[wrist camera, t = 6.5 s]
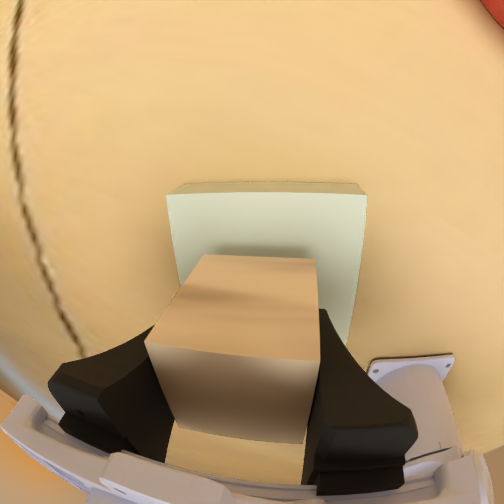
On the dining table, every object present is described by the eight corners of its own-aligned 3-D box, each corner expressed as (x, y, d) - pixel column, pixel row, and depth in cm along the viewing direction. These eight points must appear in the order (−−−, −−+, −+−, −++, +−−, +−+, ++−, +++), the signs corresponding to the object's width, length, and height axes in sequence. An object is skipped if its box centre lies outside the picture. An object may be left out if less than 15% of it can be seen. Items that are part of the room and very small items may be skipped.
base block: (340, 323, 19) (344, 352, 17) (204, 316, 21) (192, 342, 18) (356, 182, 15) (367, 195, 13) (186, 182, 17) (165, 194, 14)
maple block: (307, 344, 14) (302, 444, 9) (214, 337, 15) (178, 427, 10) (315, 258, 12) (320, 361, 7) (204, 254, 13) (143, 341, 8)
